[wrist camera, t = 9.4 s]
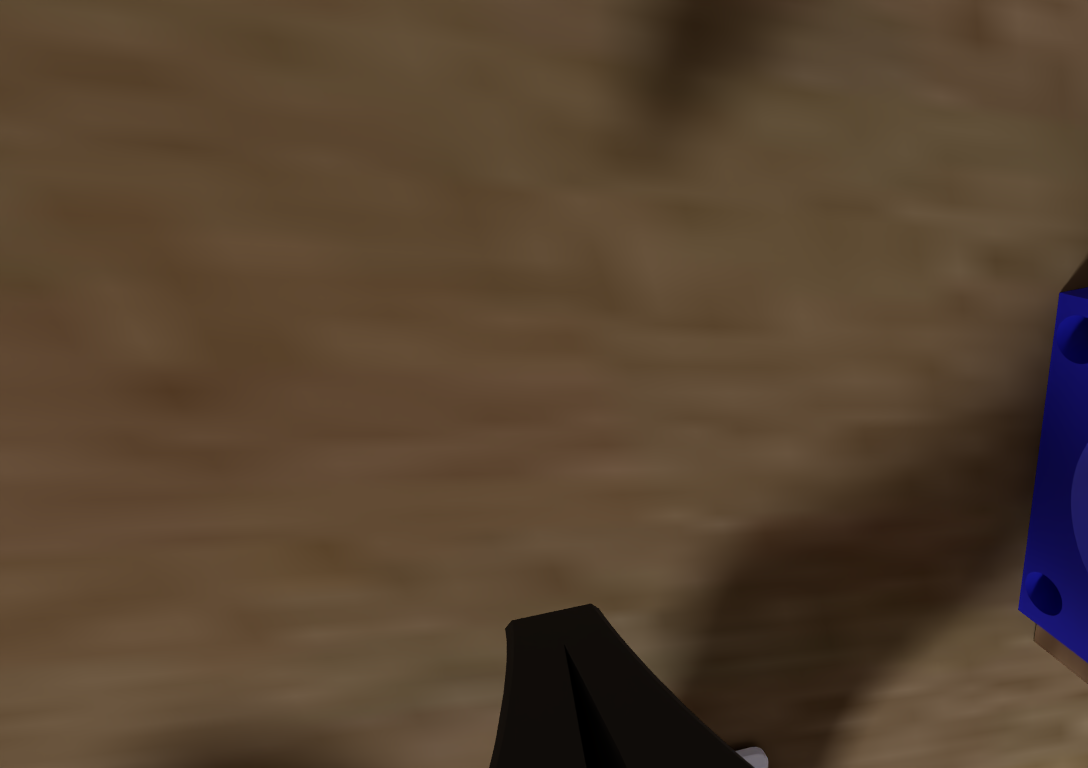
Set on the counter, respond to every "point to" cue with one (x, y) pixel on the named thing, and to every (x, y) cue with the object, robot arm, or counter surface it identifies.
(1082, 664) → the wooden rack
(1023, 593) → the cable clip
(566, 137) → the counter surface
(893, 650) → the counter surface
